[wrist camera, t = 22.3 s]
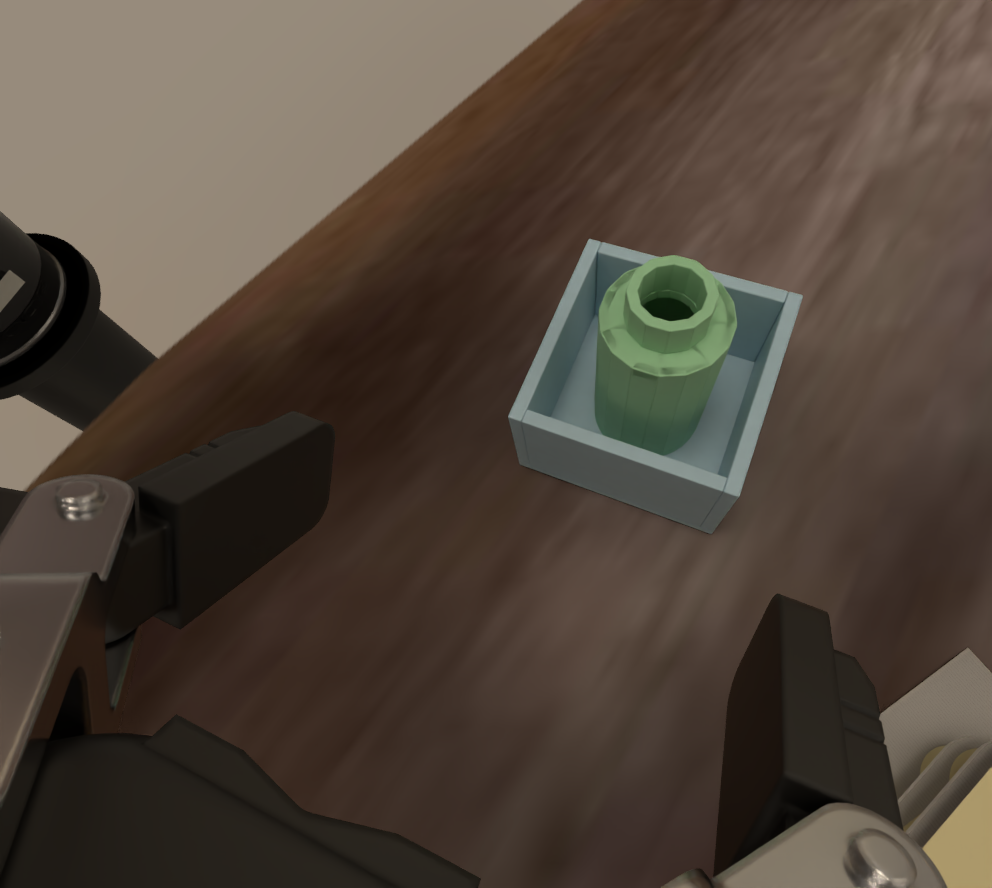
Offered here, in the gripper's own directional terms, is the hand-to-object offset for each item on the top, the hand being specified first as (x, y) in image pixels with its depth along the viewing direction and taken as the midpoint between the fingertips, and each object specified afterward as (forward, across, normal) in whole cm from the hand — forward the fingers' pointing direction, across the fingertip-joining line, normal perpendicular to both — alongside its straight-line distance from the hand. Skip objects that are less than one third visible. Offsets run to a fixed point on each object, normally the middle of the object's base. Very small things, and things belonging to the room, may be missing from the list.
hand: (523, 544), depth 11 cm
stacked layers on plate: (+13, -16, +13) cm, 24 cm away
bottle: (+20, 0, +4) cm, 21 cm away
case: (+21, 0, +5) cm, 21 cm away
